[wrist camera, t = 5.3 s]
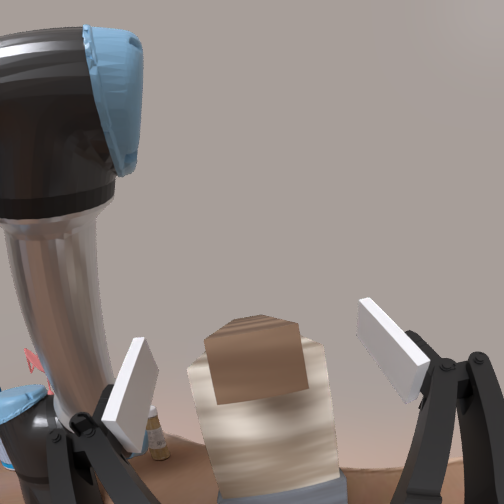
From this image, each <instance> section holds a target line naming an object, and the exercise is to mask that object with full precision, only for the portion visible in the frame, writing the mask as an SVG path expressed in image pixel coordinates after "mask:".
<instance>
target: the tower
mask: <svg viewBox="0 0 504 504" xmlns="http://www.w3.org/2000/svg"><path fill="white" fill-rule="evenodd" d="M300 337H301V343H302V349H303V354H304V360H305V366H306V372H307V378H308V385H309V389H306V390H302V391H298V392H293V393H289V394H284V395H279V396H274V397H269V398H263V399H258V400H252V401H245V402H239V403H231V404H224V405H217V402H216V397H215V393H214V388H213V384H212V379H211V374H210V369H209V364H208V359H207V354H206V351H205V352H204V353H203V354H202V355H201V356H200V357H199V358H198V359H197V360H196V361H195V362H194V363H193V364H191V366H189V367H188V368H187V373H188V377H189V382H190V386H191V391H192V395H193V399H194V404H195V407H196V412H197V415H198V419H199V423H200V427H201V431H202V435H203V438H204V442H205V445H206V449H207V452H208V456H209V459H210V462H211V465H212V469H213V472H214V475H215V478H216V481H217V484H218V487H219V492H218V499H217V503H218V504H348V501H347V480H346V477H345V475H344V474H343V472H342V471H341V469H340V468H339V462H338V451H337V442H336V432H335V423H334V415H333V407H332V399H331V391H330V384H329V378H328V371H327V364H326V358H325V351H324V345H322V344H320V343H317V342H315V341H313V340H310V339H308V338H305V337H303V336H301V335H300Z"/></svg>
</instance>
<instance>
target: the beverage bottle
mask: <svg viewBox="0 0 504 504" xmlns="http://www.w3.org/2000/svg"><path fill="white" fill-rule="evenodd" d="M0 392H1V388H0ZM0 459H1V462H2V464H3V466H4V467H5V468H7V469H9V470H13V471H15V469H14V468H13V466H12V463H11V461H10V459H9V457H8V455H7V453H6V450H5V448H4V446H3V443H2V441H1V439H0Z"/></svg>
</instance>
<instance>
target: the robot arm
mask: <svg viewBox="0 0 504 504" xmlns="http://www.w3.org/2000/svg"><path fill="white" fill-rule="evenodd" d="M142 89H143V49H142V45H141V42H140V41H139V39H138V37H137V36H136V35H134V34H133V33H132V32H129V31H126V30H121V29H112V28H101V27H91V26H90V25H83V27H64V28H51V29H41V30H33V31H26V32H20V33H14V34H9V35H4V36H0V227H2V228H3V229H4V233H5V240H6V246H7V252H8V258H9V263H10V268H11V273H12V277H13V282H14V286H15V289H16V294H17V297H18V301H19V304H20V308H21V311H22V314H23V317H24V320H25V323H26V326H27V329H28V332H29V335H30V338H31V340H32V343H33V345H34V348H35V350H36V353H37V355H38V358H39V360H40V363H41V365H42V367H43V369H44V372H45V374H46V376H47V378H48V380H49V382H50V384H51V386H52V388H53V390H54V392H55V394H54V395H49V394H48V391H47V390H46V388H45V386H43V385H36V384H34V385H26V386H20V387H16V388H11V389H8V390H4V391H1V392H0V439H1V441H2V443H3V446H4V448H5V450H6V453H7V455H8V457H9V459H10V461H11V463H12V466H13V468H14V469H15V472H16V474H17V476H18V478H19V482H20V486H21V490H22V494H23V498H24V502H25V504H103V501H102V498H101V495H100V491H99V488H98V484H97V480H96V476H95V472H96V474H97V476H98V478H99V479H100V481H101V483H102V485H103V486H104V488H105V490H106V491H107V493H108V495H109V496H110V498H111V499H112V501H113V502H114V504H161V503H160V502H159V501H158V500H157V498H156V497H155V496H154V495H153V494H152V492H151V491H150V490H149V489H148V487H147V486H146V485H145V484H144V482H143V481H142V480H141V479H140V477H139V476H138V475H137V473H136V472H135V470H134V469H133V468H132V466H131V465H130V463H129V462H128V461H127V459H130V458H133V457H136V456H140V455H143V454H145V453H146V452H147V450H148V446H149V441H148V433H147V430H146V425H147V420H148V416H149V411H150V407H151V402H152V397H153V393H154V389H155V384H156V381H157V376H158V372H159V369H158V367H157V365H156V363H155V361H154V358H153V356H152V353H151V351H150V349H149V346H148V344H147V341H146V339H145V337H140V338H134V339H133V341H132V343H131V346H130V348H129V350H128V353H127V355H126V357H125V360H124V363H123V365H122V367H121V370H120V372H119V374H118V377H117V379H115V378H114V376H113V372H112V367H111V363H110V358H109V353H108V348H107V342H106V336H105V331H104V324H103V317H102V310H101V301H100V292H99V281H98V270H97V269H98V268H97V250H96V218H97V216H98V215H99V214H100V213H101V212H102V211H103V210H104V209H105V208H106V207H107V206H108V205H109V204H110V203H111V202H112V201H113V199H114V190H115V177H116V176H117V175H118V177H124V176H125V175H128V174H131V173H132V172H134V170H135V167H136V164H137V149H138V144H139V138H140V123H141V108H142V91H143V90H142ZM356 336H357V337H358V338H359V340H360V341H361V343H362V344H363V345H364V347H365V348H366V349H367V351H368V352H369V354H370V355H371V356H372V358H373V359H374V360H375V362H376V363H377V365H378V366H379V367H380V369H381V370H382V372H383V373H384V375H385V376H386V377H387V379H388V380H389V382H390V383H391V384H392V386H393V387H394V389H395V390H396V392H397V393H398V395H399V396H400V397H401V399H402V400H403V401H404V403H405V404H407V403H409V402H411V401H413V400H416V399H417V398H418V395H419V393H420V392H421V393H422V394H423V399H422V401H421V403H420V406H419V409H420V412H419V417H418V421H417V425H416V429H415V433H414V437H413V441H412V444H411V448H410V451H409V454H408V457H407V460H406V463H405V466H404V469H403V472H402V475H401V478H400V480H399V483H398V485H397V488H396V491H395V493H394V495H393V498H392V500H391V502H390V504H441V503H442V497H441V496H440V492H441V488H442V484H443V480H444V476H445V472H446V468H447V464H448V459H449V454H450V448H451V443H452V437H453V436H452V435H453V430H454V422H455V412H456V408H457V413H458V420H459V426H460V433H461V441H462V451H463V463H464V487H465V498H464V504H504V398H503V395H502V392H501V389H500V386H499V383H498V380H497V377H496V375H495V372H494V369H493V367H492V365H491V362H490V360H489V358H488V356H487V355H486V354H484V353H482V352H473V353H472V354H470V356H469V359H468V361H463V362H459V363H456V362H455V361H453V360H452V359H449V358H441V357H440V356H439V355H438V354H437V353H436V352H435V351H434V350H433V349H432V348H431V347H430V346H429V345H428V344H427V343H426V342H425V341H424V340H423V339H422V338H421V337H420V336H419V335H418V334H417V333H414V332H413V331H410V330H409V331H406V332H403V331H402V330H401V329H400V328H399V327H398V326H397V325H396V324H395V323H394V322H393V320H392V319H390V317H388V316H387V315H386V313H385V312H384V311H383V310H381V309H380V307H379V306H378V305H377V304H376V303H374V302H373V301H372V300H371V299H370V298H369V297H368V298H364V299H361V300H359V301H358V320H357V334H356ZM94 470H95V472H94Z"/></svg>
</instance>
